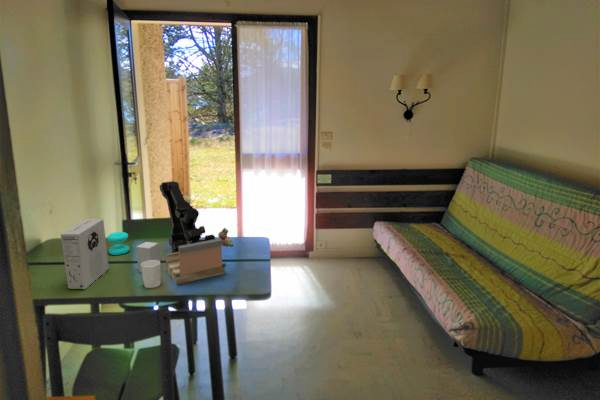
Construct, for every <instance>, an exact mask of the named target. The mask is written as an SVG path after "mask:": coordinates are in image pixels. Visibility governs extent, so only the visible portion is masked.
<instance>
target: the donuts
mask: <svg viewBox="0 0 600 400" xmlns="http://www.w3.org/2000/svg"><path fill="white" fill-rule="evenodd" d="M106 238H107V239H106V240H107V241H108V242H110V243H113V244H114V243H116V244H114V245H112V246H110V247H109V249H108V253H109V254H110V255H112V256H122V255H125V254H127V253H128V252H130V249H131V248H130V246H129V245H127V244H124V243H122V242H125V241H127V240H128V238H129V234H128V233H127V232H125V231H115V232H112V233H109V234H108V235H107V237H106ZM117 243H118V244H117ZM121 254H122V255H121Z"/></svg>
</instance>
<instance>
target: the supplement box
mask: <svg viewBox="0 0 600 400" xmlns="http://www.w3.org/2000/svg"><path fill="white" fill-rule="evenodd" d="M135 249H136V257H137V267H138V272H139V273H142V269H141V263H143V262H145V261H148V260H158V261H160V262H161V256H160V245H159V242H151V241H144V242H143V243H141V244H138V245H137V246H136V248H135ZM160 268H162V266H161V263H160Z"/></svg>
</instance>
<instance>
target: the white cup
mask: <svg viewBox="0 0 600 400" xmlns="http://www.w3.org/2000/svg"><path fill="white" fill-rule="evenodd" d="M160 264H161V260H160V261H158V260H148V261H145V262H143V263H141V269H142V272H141V274H142V280H143V286H144V287H145V288H147V289H155V288H157V287H159V286H160V285H161V283H162V282H161V272H162V269H161V268H162V267H161V268H160Z"/></svg>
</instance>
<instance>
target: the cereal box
mask: <svg viewBox="0 0 600 400" xmlns="http://www.w3.org/2000/svg"><path fill="white" fill-rule="evenodd" d="M105 231H106V230H105V223H104V219H103V218H86V219H84V220H82V221H81V222H79V223H78V224H76V225H74V226H72V227H71V228H68V229H67V230H65V231H63V232H62V233H60V240H61V245H62V254H63V260H64V261H63V262H64V268H65V275H66V283H67V289H68V288H83V289H85V288H87V287H88V286H89V285H91V284H92V283H93V282H94V281H95V280H96V281H98V280H99V279H100V278H101V277H102V276H104V275H105V272H106V271H107V270H108V269H110V268H109V266H110V265H109V256H108V249H107V241H106V240H107V239H106V232H105ZM108 271H109V270H108ZM108 271H107V272H108ZM107 272H106V273H107ZM101 275H102V276H101ZM100 276H101V277H100ZM99 277H100V278H99ZM98 278H99V279H98ZM97 279H98V280H97ZM96 281H95V282H96ZM95 282H94V283H95ZM94 283H93V284H94ZM93 284H92V285H93ZM92 285H91V286H92ZM88 288H89V287H88ZM88 288H87V289H88Z"/></svg>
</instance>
